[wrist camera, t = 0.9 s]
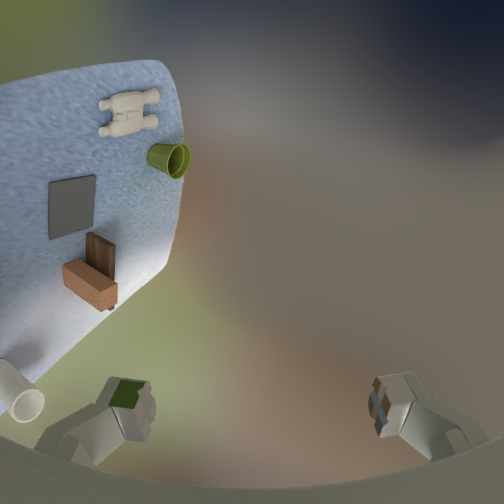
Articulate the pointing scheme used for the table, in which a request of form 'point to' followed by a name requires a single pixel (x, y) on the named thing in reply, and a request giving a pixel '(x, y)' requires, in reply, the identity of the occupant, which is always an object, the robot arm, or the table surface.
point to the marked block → (90, 285)
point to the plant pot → (170, 159)
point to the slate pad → (70, 205)
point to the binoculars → (129, 113)
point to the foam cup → (19, 394)
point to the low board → (101, 256)
